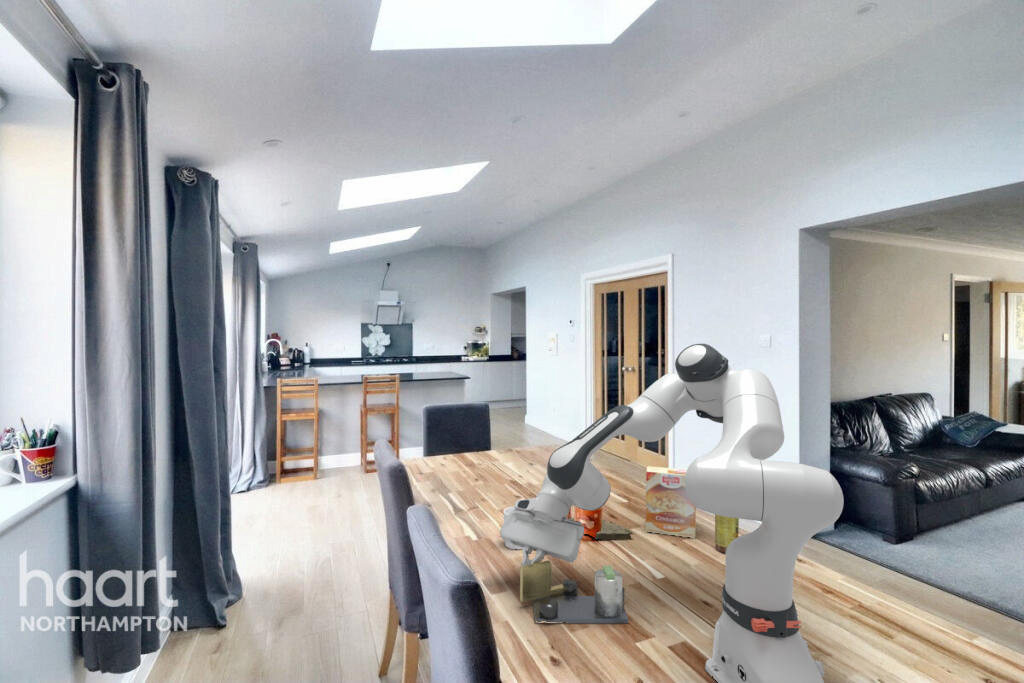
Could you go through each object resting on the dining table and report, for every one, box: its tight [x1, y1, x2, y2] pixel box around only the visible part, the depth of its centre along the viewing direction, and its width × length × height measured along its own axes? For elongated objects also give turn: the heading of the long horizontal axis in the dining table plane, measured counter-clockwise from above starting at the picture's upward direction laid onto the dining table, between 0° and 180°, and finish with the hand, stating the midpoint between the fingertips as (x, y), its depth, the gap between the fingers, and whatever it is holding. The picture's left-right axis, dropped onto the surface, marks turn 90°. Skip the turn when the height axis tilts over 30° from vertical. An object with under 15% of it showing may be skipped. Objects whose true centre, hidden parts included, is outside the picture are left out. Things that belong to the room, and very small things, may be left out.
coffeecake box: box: [644, 465, 697, 539], centre depth 151 cm, size 15×7×20 cm, turn 73°
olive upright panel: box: [519, 560, 579, 603], centre depth 111 cm, size 15×4×9 cm, turn 116°
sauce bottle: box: [714, 514, 740, 554], centre depth 138 cm, size 7×6×20 cm
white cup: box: [503, 506, 523, 550], centre depth 140 cm, size 8×8×10 cm
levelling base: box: [532, 564, 629, 624], centre depth 106 cm, size 10×21×10 cm, turn 91°
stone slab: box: [570, 518, 635, 541], centre depth 152 cm, size 27×12×5 cm, turn 48°
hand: (527, 568), depth 111 cm, fingers closed
